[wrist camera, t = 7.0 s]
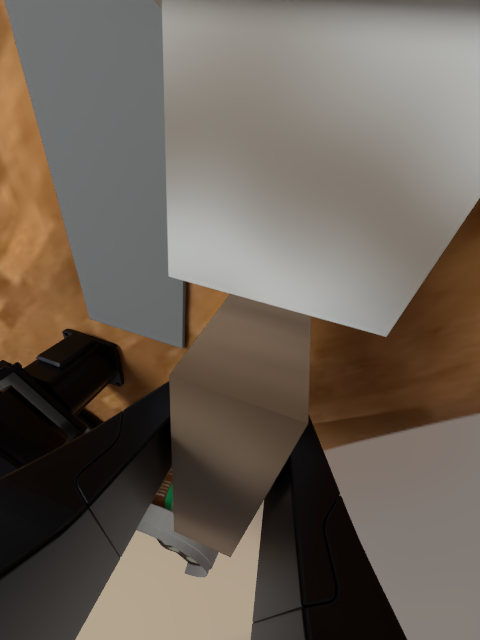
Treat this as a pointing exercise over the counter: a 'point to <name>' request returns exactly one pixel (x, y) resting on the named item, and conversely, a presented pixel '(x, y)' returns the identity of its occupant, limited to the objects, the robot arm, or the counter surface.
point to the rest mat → (106, 151)
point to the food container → (162, 528)
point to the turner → (300, 209)
